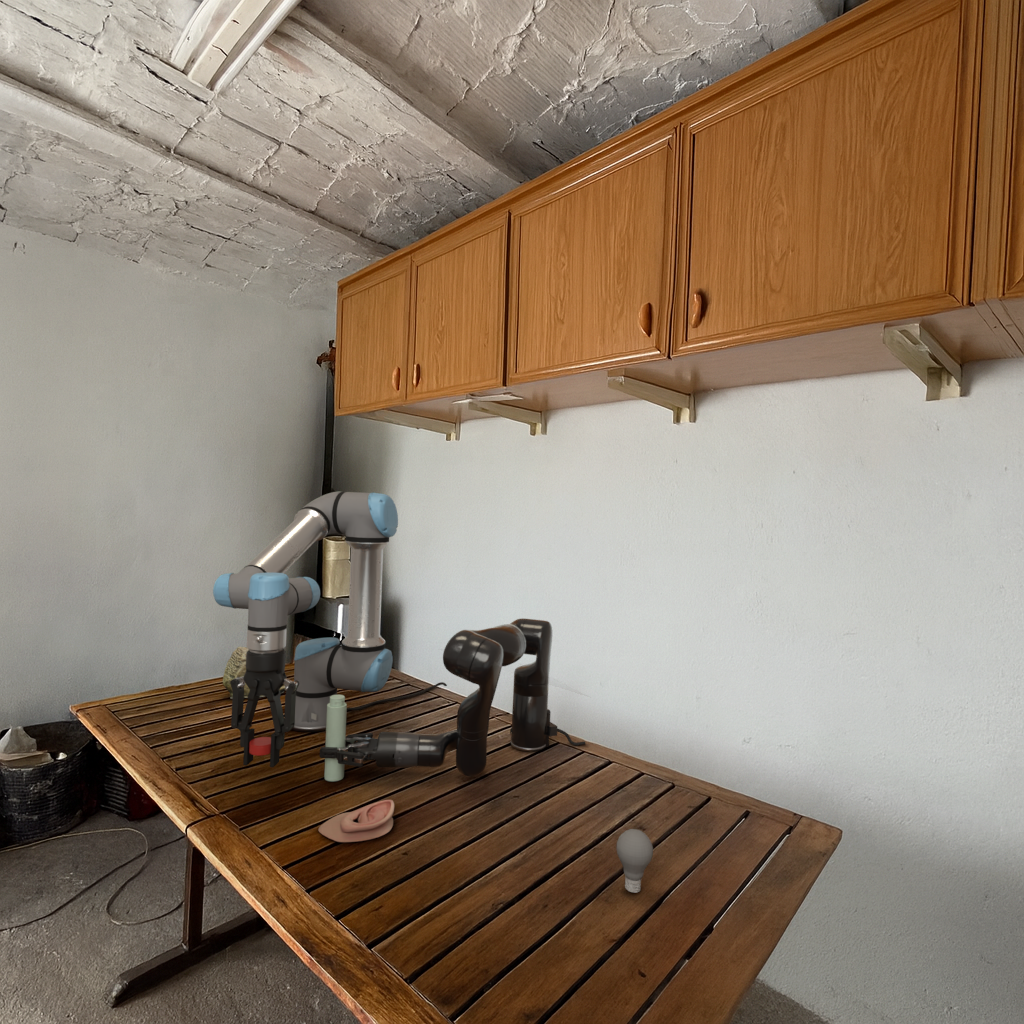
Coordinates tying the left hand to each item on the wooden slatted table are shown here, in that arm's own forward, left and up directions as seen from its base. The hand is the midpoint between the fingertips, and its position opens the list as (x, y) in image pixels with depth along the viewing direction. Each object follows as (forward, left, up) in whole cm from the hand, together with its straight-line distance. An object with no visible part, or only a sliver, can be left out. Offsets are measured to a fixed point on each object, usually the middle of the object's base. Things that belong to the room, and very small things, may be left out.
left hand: (261, 763), depth 129 cm
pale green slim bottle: (-18, 0, -9) cm, 20 cm away
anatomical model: (-8, +21, -9) cm, 24 cm away
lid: (0, 0, +4) cm, 4 cm away
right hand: (-16, -2, -2) cm, 16 cm away
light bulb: (-26, +71, -9) cm, 76 cm away
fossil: (-36, -66, -9) cm, 75 cm away
